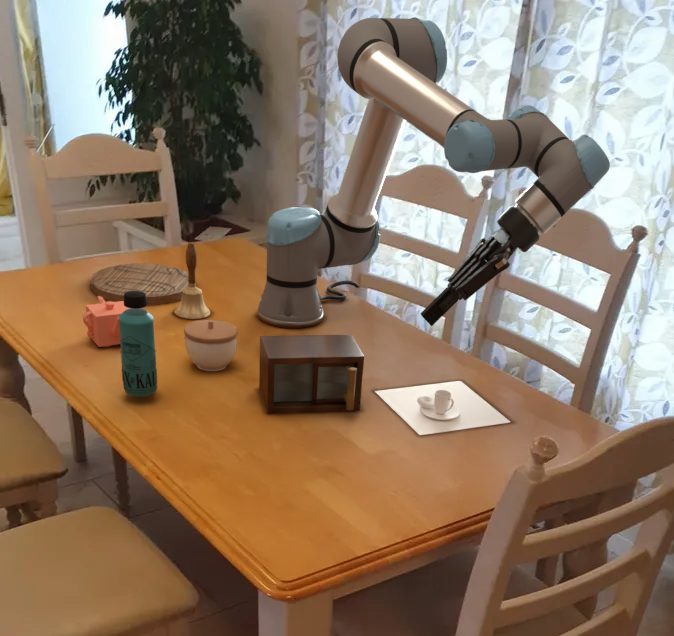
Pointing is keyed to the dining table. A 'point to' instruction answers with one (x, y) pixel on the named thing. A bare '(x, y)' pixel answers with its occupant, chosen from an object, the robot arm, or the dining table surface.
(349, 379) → the door
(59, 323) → the dining table surface
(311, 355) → the cabinet
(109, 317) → the teapot
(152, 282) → the trivet
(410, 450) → the dining table surface
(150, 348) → the beverage bottle
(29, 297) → the dining table surface
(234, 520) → the dining table surface
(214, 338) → the trinket box
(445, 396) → the teacup and saucer
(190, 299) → the hand bell
